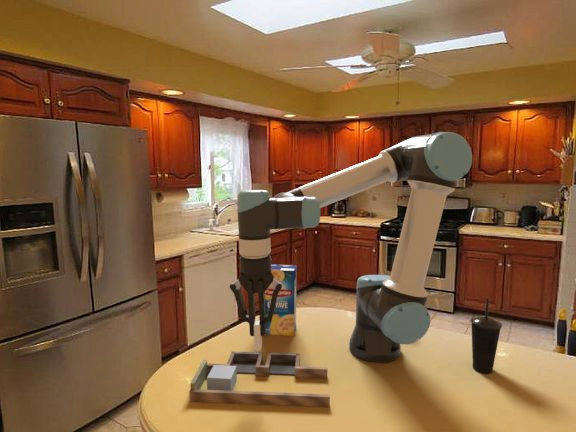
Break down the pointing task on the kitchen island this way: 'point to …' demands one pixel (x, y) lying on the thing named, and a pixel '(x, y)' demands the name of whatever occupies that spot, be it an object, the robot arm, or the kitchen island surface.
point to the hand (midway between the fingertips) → (258, 347)
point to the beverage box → (282, 301)
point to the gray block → (222, 378)
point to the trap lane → (253, 365)
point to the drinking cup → (484, 341)
